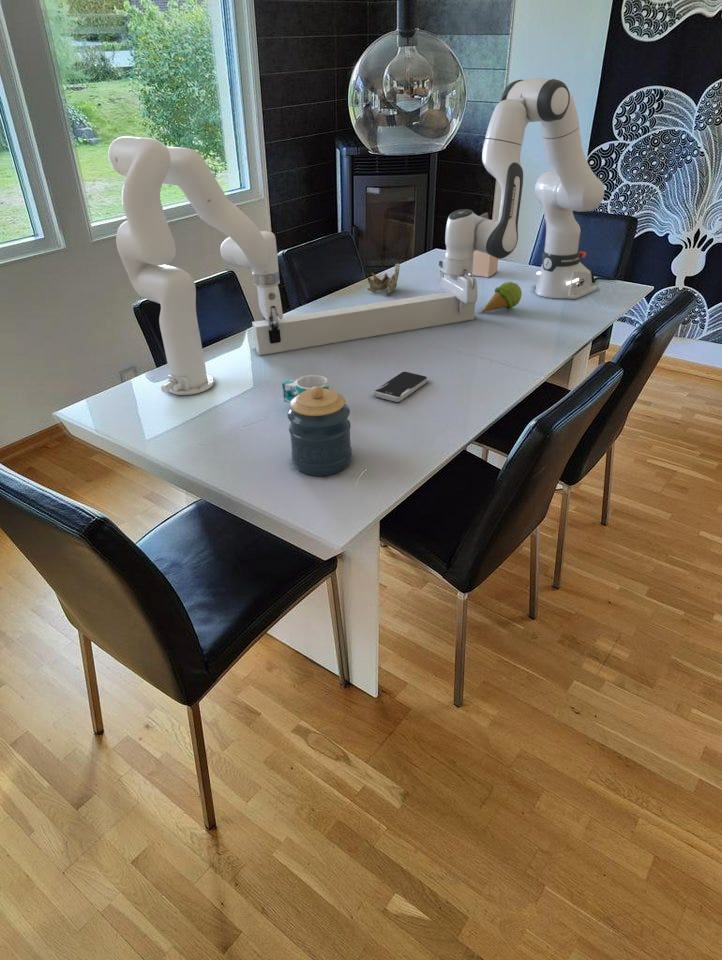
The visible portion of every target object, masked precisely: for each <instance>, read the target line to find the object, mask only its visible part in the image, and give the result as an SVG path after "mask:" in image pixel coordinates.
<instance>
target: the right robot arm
mask: <svg viewBox="0 0 722 960" xmlns="http://www.w3.org/2000/svg"><path fill="white" fill-rule="evenodd" d="M535 122H540V129H541V136H542V137H541V138H542V143H543V149H544V150H543V151H544V156H545V161H546V163H547V164H548V165H549V166H550V168H552V169H553V170H549V171H545V172H543V173H542V174H541V175H539V176H538V178H537V180H536V182H535V185H534V195H535V198H536V199H537V201H538V202H539V204H540V205H541V208H542V211H543V215H544V221H545V230H546V231H545V241H544V250H543V251H542V255H541V262H542V264H541V265H540V269H539V271H537V272H536V275H538V279H537V282H536V283H535V290H534V292H535V294H536V295H538V296H541V297H545V298H550V299H569V300H571V299H572V300H577V299H579V298H582V297H584V296H586V295H589V294H590V293H593V292H595V291H597V290H598V286H597V285H596V284H595V283H596V281H597V280H600V281H601V280H602V281H616V280H618V279H619V278H620V277H623V273H622V272H621V271H620V272H618V273H617V276H615V277H605V276H596V277H595V275H594V270H593V269H589V268H587V267H586V266H585V265H584V264H583V263H582V262H581V259H585V258H586V257H587V252H586V251H582V250H581V251H579V247H580V238H581V227H580V226H581V225H580V224H579V222H578V221H577V220H576V218H575V216H574V212H578V213H581V212H582V213H585V212H592V211H595V210H596V209H598V208H599V206H600V205H601V204H602V202H603V199H604V197H605V185H604V183H603V181H602V180H601V179H600V178H599V177H597V176H596V174H595V173H594V171H593V170H592V168H591V166H590V165H589V162H588V160H587V157H586V156H585V152H584V149H583V143H582V136H581V129H580V122H579V116H578V111H577V106H576V103H575V100H574V96H573V95H572V93H571V92H570V90H569V88H568V86H567V85H566V83H565V82H563V80H560V79H556V78H551V79H550V78H542V77H535V78H529V79H518V80H514V81H512V82H510V83H508V84H507V86H506V87H505V89H504V90H503V92H502V95H501V98H500V101H499V102H498V103H497V104H496V106H495V107H494V110H493V112H492V114H491V117H490V120H489V123H488V126H487V130H486V133H485V137H484V141H483V146H482V149H481V162H482V165H483V167H484V168H485V170H486V171H487V173H488V174H490V175H491V176H492V177H493V178H494V179H495V180H496V181H497V183H498V184H499V186H500V190H501V195H500V204H499V210H498V211H499V212H498V219H497V220H494V219H490V218H488V219H486V218H483V217H480V215H477V214H476V213H474V211H473V209H467V208H462V209H457V210H454V211H453V212H451V213H449V215H448V217H447V220H446V225H445V233H444V234H445V235H444V244H445V253H444V258H443V259H438V260H437V267H438V276H437V277H438V286H439V288H440V289H441V290H443V291H445V292H450V293H452V294H453V295H455V296H456V298H457V299H459V300H460V307H458V312H459V313H465V307H466V305H467V304H473V303H475V304H476V303H477V301H478V282H477V279H476V278H475V275H473V273H472V272H473V252H474V251H476V250H477V251H480V252H483V253H487V254H489V255H491V256H493V257H496V258H498V260H500V259H504V258H507V257H508V256H509V255H511V254H512V253H513V252H514V250H515V249H516V247H517V245H518V241H519V216H520V210H521V201H522V193H523V186H524V170H523V167H522V166H521V153H522V147H523V143H524V137H525V133H526V128H527V126H528V125H529V123H535Z"/></svg>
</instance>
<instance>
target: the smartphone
mask: <svg viewBox="0 0 722 960" xmlns="http://www.w3.org/2000/svg"><path fill="white" fill-rule="evenodd" d="M426 383H428V377H427V376H426V375H421V374H418V373H412V372H408V371H402V372H400V373H399V374H397V375H395V376H393V378H391V379H390V380H388V381H386V382H385V383H383V384H382V385H381V386H379V387H377V388H375V390H374V391H373V392H374V394H373V396H374V397H376V398H379V399H383V400H388V401H390V402H395V403H400V402H402V401H403V400H405V399H406V398H407V397H408V396H410V395H411V394H413V393H414V392H415V391H417V390H418V389H420V388H421V387H423V386H424V385H425V384H426Z"/></svg>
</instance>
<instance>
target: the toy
mask: <svg viewBox="0 0 722 960" xmlns="http://www.w3.org/2000/svg"><path fill="white" fill-rule="evenodd" d="M522 293H523V292H522V288H521V287H520V286H519V284H518V283H515V282H513V281H507V282H505V283H502V284H501V285H500V286H498V287H496V288H495V289H494V294H493V296H491V298H490V300H489V301H488V303H487V304H486V305H485V306H484V308H483V309H482V310H481V313H485V312H490V311H496V310H500V309H506V310H507V311H508V310H511V309H513V308H514V307H516V306H517V305H518V304H520V301H521V299H522V295H523V294H522Z"/></svg>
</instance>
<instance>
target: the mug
mask: <svg viewBox="0 0 722 960" xmlns="http://www.w3.org/2000/svg"><path fill="white" fill-rule="evenodd" d="M281 385H282V393H283V394H282V395H283V402H284V403H288V404H291V401H292V399H293V398H295V397H296V396H298V395H299V394H300V393H302V392H304V391H306V390H310V389H312V388H313V387H314V386H320V387H321V388H324V389H330V385H329V378H327V377H325V376H323V375H320V374H308V375H304V376H300V377H299V378H298V379H296V380H292V379H287V380H285V381H284V382H282V384H281Z"/></svg>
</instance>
